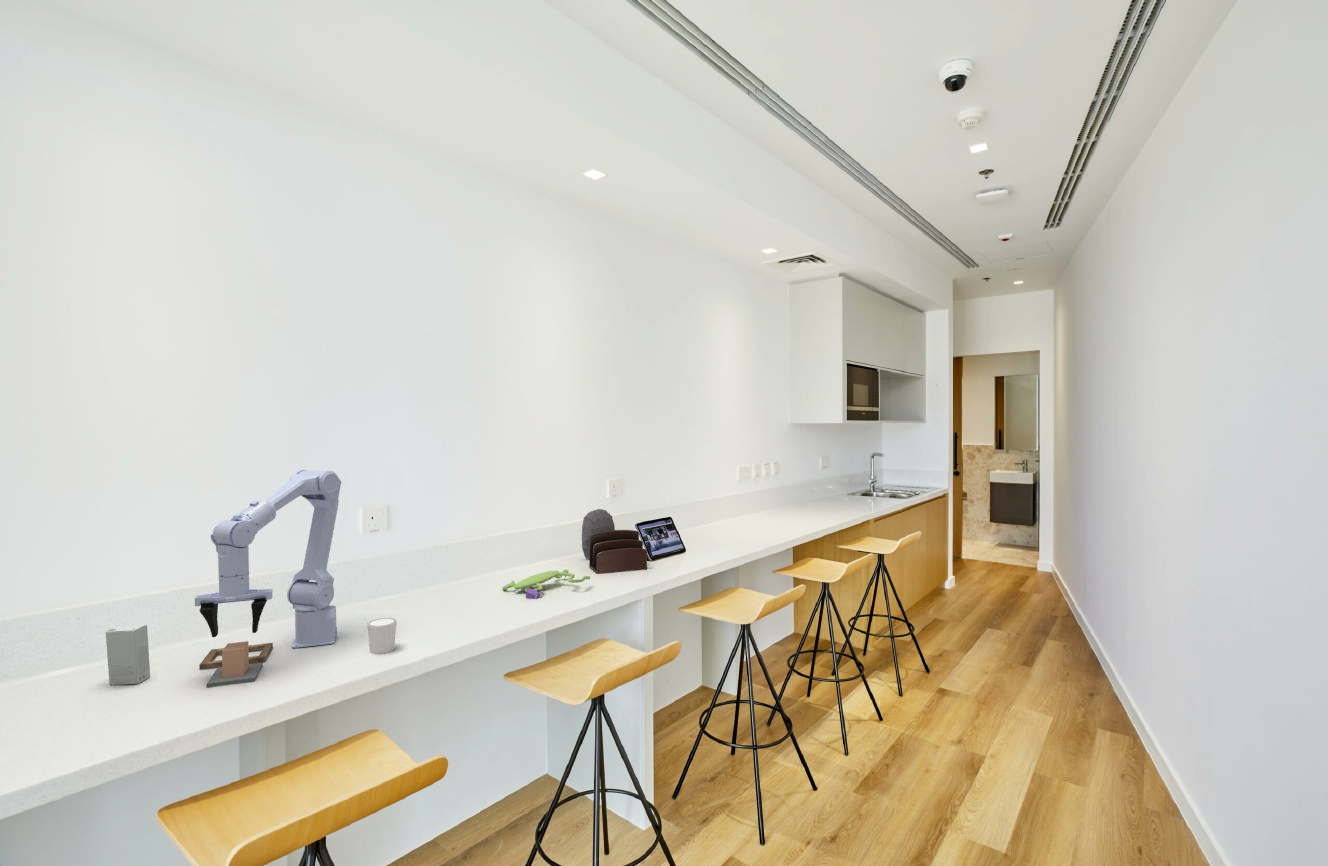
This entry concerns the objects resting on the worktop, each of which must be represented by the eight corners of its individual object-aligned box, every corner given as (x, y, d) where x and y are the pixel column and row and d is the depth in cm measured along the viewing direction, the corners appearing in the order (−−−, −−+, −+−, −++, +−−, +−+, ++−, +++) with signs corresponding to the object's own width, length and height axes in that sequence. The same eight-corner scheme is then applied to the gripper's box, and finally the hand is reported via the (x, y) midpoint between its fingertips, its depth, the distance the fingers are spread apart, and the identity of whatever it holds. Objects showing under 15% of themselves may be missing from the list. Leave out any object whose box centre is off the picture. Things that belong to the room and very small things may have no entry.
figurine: (594, 591, 217) (594, 575, 217) (516, 603, 203) (517, 585, 203) (572, 578, 233) (572, 563, 232) (498, 589, 219) (498, 572, 218)
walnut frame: (272, 647, 164) (272, 642, 164) (265, 662, 154) (264, 657, 154) (211, 654, 159) (211, 649, 159) (199, 669, 150) (199, 664, 150)
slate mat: (263, 666, 152) (262, 662, 152) (254, 681, 144) (254, 677, 144) (217, 671, 149) (217, 668, 149) (206, 687, 140) (206, 683, 140)
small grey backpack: (608, 554, 270) (608, 506, 269) (620, 557, 263) (621, 508, 262) (577, 559, 260) (577, 509, 259) (589, 563, 254) (589, 512, 253)
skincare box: (151, 676, 146) (149, 623, 145) (137, 685, 141) (135, 630, 141) (121, 677, 145) (120, 624, 145) (106, 686, 141) (104, 630, 140)
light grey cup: (402, 647, 164) (402, 620, 164) (378, 656, 158) (378, 628, 158) (385, 642, 168) (385, 615, 167) (361, 651, 162) (360, 623, 162)
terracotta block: (248, 666, 150) (248, 641, 149) (243, 675, 145) (243, 648, 145) (228, 669, 148) (227, 643, 148) (222, 678, 143) (221, 651, 143)
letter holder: (588, 568, 247) (589, 531, 246) (638, 564, 254) (638, 528, 254) (596, 574, 237) (596, 536, 237) (647, 570, 245) (647, 532, 244)
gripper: (189, 581, 140) (191, 643, 140) (268, 575, 145) (269, 635, 146) (199, 573, 146) (200, 633, 147) (273, 567, 152) (274, 625, 152)
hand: (235, 633), depth 147 cm, fingers open, 7 cm apart
